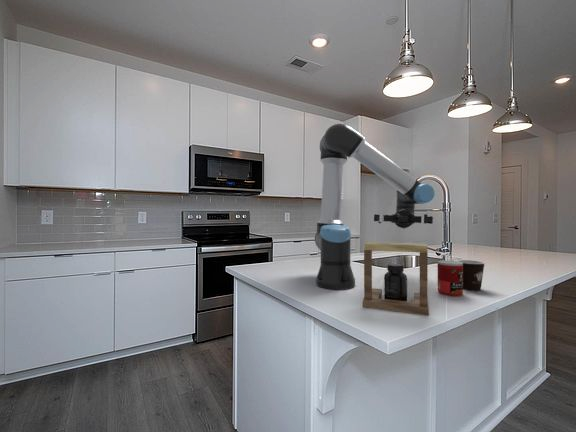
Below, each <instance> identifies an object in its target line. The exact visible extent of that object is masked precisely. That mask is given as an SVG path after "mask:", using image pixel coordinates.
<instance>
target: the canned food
mask: <svg viewBox="0 0 576 432" xmlns="http://www.w3.org/2000/svg"><path fill="white" fill-rule="evenodd" d="M437 292H438V294H441V295H444V296H448V297H461V296H462V295H463V293H464V290H463V263H462V262H458V260H447V259H445V260H438V261H437Z"/></svg>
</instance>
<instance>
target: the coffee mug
mask: <svg viewBox="0 0 576 432" xmlns="http://www.w3.org/2000/svg"><path fill="white" fill-rule="evenodd" d="M457 261H458V262H462V263H463V291H467V290H468V291H467V292H480V291H482V282H483V277H484V276H483V275H484V270H485V262H484V261H481V260H479V261H478V260H471V259H460V260H457Z"/></svg>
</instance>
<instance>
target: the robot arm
mask: <svg viewBox="0 0 576 432" xmlns="http://www.w3.org/2000/svg"><path fill="white" fill-rule="evenodd" d="M365 138H366V137H364V135H362V134H361V133H360V132H358V131H356V130H355V129H354V128H353V127H351V126H349V125H347V124H343V123H335V124H333V125H330V126H329V128H327V129H326V131H325V132H324V135H323V136H322V138H321V139H320V141H319V151H320V160H319V161H320V162H321V163H322V165H323V166H322V167H323V171H322V190H321V207H320V208H321V209H320V218H319V220H318V221H317V222H316V233H315V236H314V243H315V245H316V247H317V248H318V249H319V251H320V266H319V269H318V273H317V275H316V278H315V281H316V283H315V284H316V286H317V287H320V288H322V289H328V290H347V289H352V288H354V287H355V286H356V278H355V275H354V273H353V269H352V266H351V237H352V233H351V229H350V227H348V226H347V225H345V224H344V222H343V221H342V220H341V216H342V215H341V214H342V197H343V195H342V194H343V193H342V192H343V191H342V190H343V176H344V175H343V174H344V173H343V172H344V165H345V164H346V163H347V162H348V158H353V159H355V160H356V161H357V162H359V163H360V164H361V165H363V166H364V167H366V168H367V169H368V170H369V171H371V172H373V173H374V174H375V175H377V177H379V178H381V179H382V180H383V181H385V182H386V183H387V184H388V185H390V186H392V187H393V188H394V189H395V190H396V209H395V213H393V214H391V215H388V214H374V215H373V221H374V222H378V224H382V223H384V222H389V223H390V222H391V223H392V224H394V225H396V226H397V227H398V228H401V229H402V230H405V229H407V228H409V227H410V226H412V225H414V224H421V225H424V224H425V225H426V224H434V221H433V219H434V217H433V216H432V215H431V216H428V214H425V213H424V214H423V215H418V216H417V215H415V210H416V209H415V207H416V206H415V205H423V204H427V203H428V204H429V203H430V202H432V200H433V199H434V198H435V195H436V194H435V189H434V187H433V186H432V185H430V184H429V183H422V182H420V181H419V180H418V179H416V178H415V177H413V176H412V175H410V174H409V173H408V172H407V171H406V170H404V169H403V168H401V167H400V166H399V165H398V164H396V163H395V162H393V161H392V160H391V159H390V158H388V157H387V156H386V155H384V154H383V153H382V152H380V151H379V150H377V149H376V148H375V147H374V146H373V145H371V144H369V143H368V142H367V141H366V139H365Z"/></svg>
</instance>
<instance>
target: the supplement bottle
mask: <svg viewBox="0 0 576 432" xmlns="http://www.w3.org/2000/svg"><path fill="white" fill-rule="evenodd" d="M404 268H405V267H404V264H401V263H388V264H387V268H386V271H387V272H385V274H384V275H383V276H384V277H383V282H384V283H383V285H384V286H383V289H384V290H383V292H384V293H383V294H384V295H383V297H384V298H383V299H389V300H398V301H407V302H408V276H407V274H405V273H404V271H405V269H404Z"/></svg>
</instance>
